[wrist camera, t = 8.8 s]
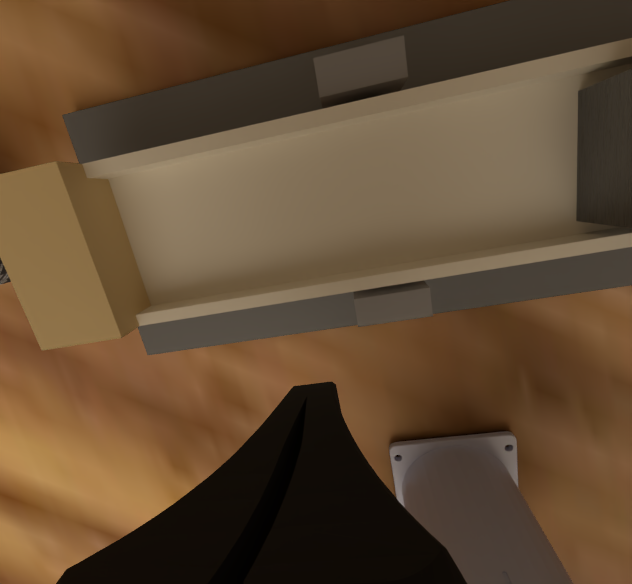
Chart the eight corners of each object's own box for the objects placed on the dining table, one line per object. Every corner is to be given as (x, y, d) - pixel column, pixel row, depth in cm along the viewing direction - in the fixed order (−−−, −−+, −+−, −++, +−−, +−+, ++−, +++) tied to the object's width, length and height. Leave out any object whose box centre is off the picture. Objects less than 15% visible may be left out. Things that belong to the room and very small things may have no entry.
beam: (719, 217, 14) (868, 228, 10) (112, 318, 18) (44, 355, 14) (744, 24, 12) (938, -56, 8) (59, 178, 16) (-37, 174, 12)
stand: (661, 273, 19) (817, 315, 12) (156, 348, 22) (85, 407, 16) (688, -36, 15) (931, -196, 9) (76, 118, 19) (-54, 84, 13)
